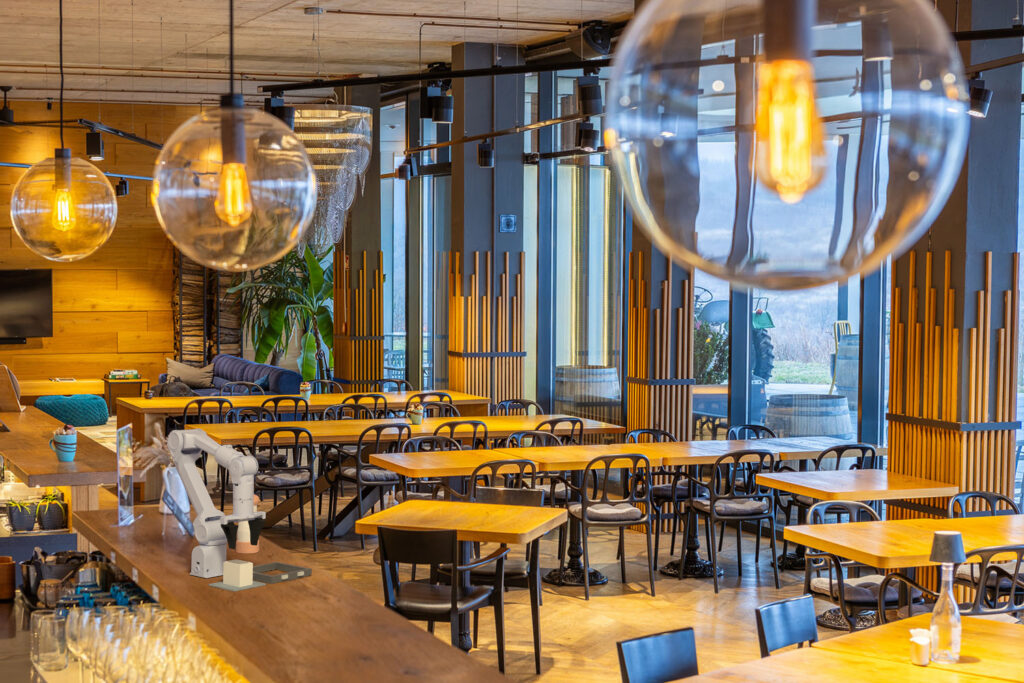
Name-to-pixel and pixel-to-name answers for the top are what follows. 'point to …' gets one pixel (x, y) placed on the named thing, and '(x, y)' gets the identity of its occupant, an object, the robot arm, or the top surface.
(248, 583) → the block
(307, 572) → the frame
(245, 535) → the salt shaker
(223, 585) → the slate mat
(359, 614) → the top surface
